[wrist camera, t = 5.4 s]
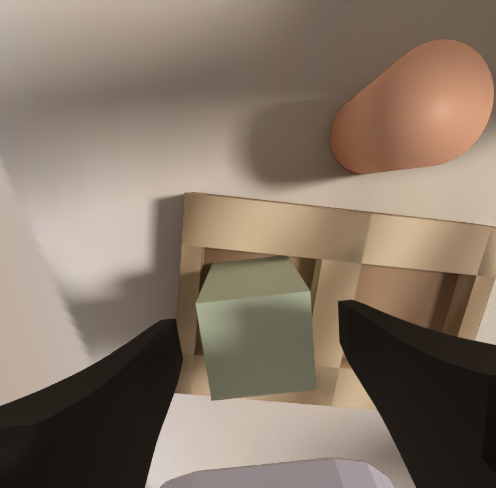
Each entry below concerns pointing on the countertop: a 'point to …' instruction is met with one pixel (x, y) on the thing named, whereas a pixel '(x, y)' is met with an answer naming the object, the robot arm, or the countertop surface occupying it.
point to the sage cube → (256, 328)
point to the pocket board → (337, 276)
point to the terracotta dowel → (416, 111)
